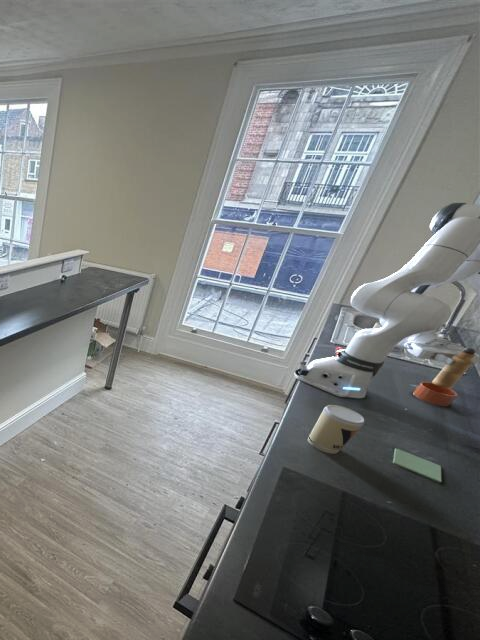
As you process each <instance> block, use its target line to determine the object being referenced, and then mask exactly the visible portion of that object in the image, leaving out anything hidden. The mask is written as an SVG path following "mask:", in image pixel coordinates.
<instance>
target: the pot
mask: <svg viewBox="0 0 480 640" xmlns="http://www.w3.org/2000/svg"><path fill="white" fill-rule="evenodd" d="M412 394H413V395H414V396H415V397H416V398H418V399H420V400H421V401H424V402H426V403H429V404H432V405H436V406H440V407H449V406H450V405H451V404H452V402H453V401H454V400H455V399H456V398H457V397H458V396H459V394H458V393H457V392H456V391H455V390H453V389H452V388H450V389H449V388H444V387H440V386H438V385H436V384H434V383H433V382H430V381H421V382H420V383H419V384H418V386H417V387H416V388H415V390H413V391H412Z"/></svg>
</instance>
